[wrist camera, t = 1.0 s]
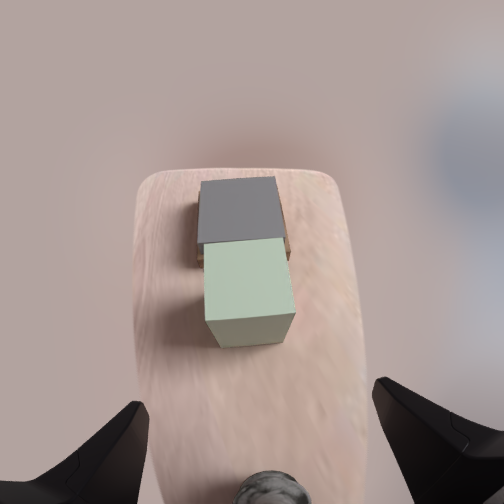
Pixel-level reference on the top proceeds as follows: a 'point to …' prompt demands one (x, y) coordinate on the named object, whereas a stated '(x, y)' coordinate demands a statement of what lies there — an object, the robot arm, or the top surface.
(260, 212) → the charcoal top slab
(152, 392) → the top surface
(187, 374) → the top surface
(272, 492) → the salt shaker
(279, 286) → the sage green block
